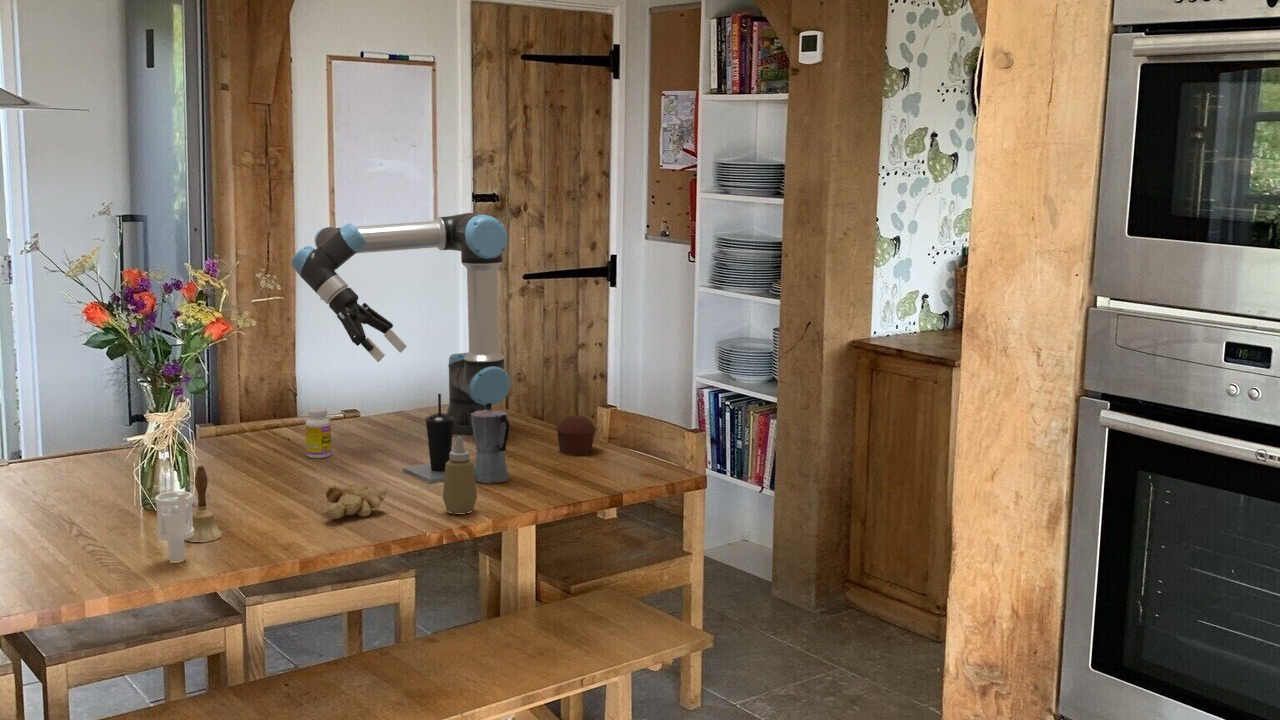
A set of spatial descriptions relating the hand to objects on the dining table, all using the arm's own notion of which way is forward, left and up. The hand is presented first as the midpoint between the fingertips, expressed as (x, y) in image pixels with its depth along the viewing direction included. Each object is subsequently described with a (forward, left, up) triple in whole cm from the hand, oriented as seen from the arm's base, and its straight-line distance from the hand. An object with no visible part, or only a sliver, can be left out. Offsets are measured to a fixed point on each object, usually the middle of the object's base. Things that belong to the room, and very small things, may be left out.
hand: (393, 353), depth 332 cm
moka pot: (-10, +32, -30) cm, 45 cm away
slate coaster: (-3, +18, -29) cm, 35 cm away
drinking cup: (-3, +18, -29) cm, 34 cm away
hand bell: (+65, +32, -30) cm, 78 cm away
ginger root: (+31, +35, -30) cm, 55 cm away
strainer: (+75, +44, -30) cm, 92 cm away
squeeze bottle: (+11, +50, -30) cm, 59 cm away
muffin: (-45, +21, -30) cm, 58 cm away
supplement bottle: (+14, -17, -30) cm, 37 cm away
